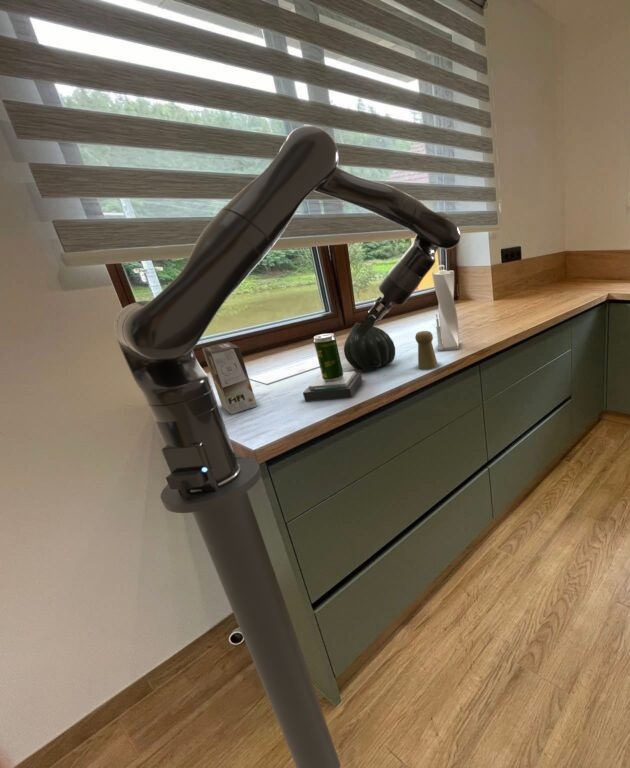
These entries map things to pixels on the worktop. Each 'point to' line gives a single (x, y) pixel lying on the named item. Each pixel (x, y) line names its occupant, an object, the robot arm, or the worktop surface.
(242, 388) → the coffee box
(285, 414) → the worktop surface
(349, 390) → the scale
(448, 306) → the skyscraper
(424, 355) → the cork
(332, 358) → the beer can
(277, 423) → the worktop surface
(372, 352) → the squash
